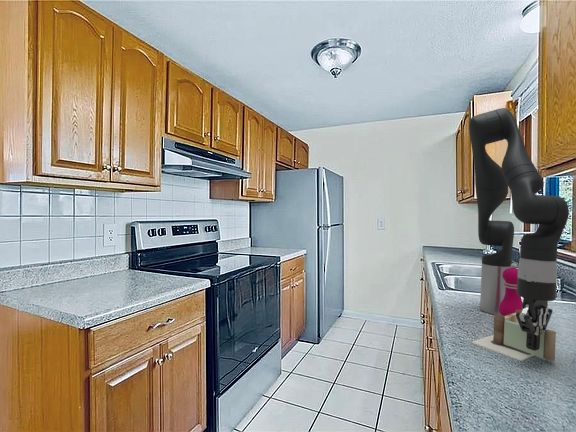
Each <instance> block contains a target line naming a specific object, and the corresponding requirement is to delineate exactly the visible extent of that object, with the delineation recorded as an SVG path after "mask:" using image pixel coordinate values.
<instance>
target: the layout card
mask: <svg viewBox="0 0 576 432" xmlns="http://www.w3.org/2000/svg"><path fill="white" fill-rule="evenodd" d="M493 336H494V334H491V335H488V336H486V337H485V336H484V337H482V338H480V339H479V338H478V339H476V340H473V341H471V344H473V345H475V346H478V347H480V348H484V349H486V350H489V351H492V352H495V353H498V354H500V355H503V356H506V357H508V358H511V359H514V360H517V361H519V362H523V361H525V360H527V359H529V358H531V357H533V356H535V355H533V354H531V353H528V352H525V351H522V350H519V349H516V348H514V347H511V346H508V345H505V344H504V345H499V344H495V343H494V342H493Z"/></svg>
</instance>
